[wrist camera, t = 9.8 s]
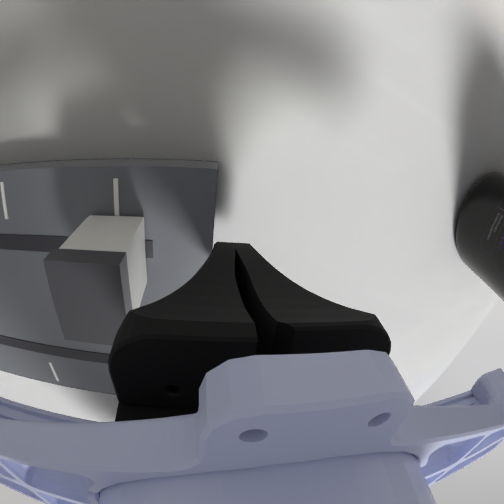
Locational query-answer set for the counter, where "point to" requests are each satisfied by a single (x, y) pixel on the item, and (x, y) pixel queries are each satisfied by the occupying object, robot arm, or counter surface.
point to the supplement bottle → (484, 231)
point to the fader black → (98, 277)
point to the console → (65, 223)
